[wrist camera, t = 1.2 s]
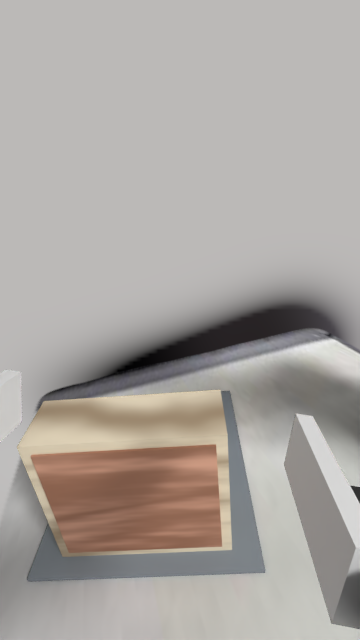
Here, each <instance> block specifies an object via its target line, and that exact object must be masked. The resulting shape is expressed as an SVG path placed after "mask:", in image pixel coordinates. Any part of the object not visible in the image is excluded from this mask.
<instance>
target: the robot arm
mask: <svg viewBox="0 0 360 640" xmlns="http://www.w3.org/2000/svg"><path fill="white" fill-rule="evenodd" d="M21 422H22V396H21V372H18V371H11V370H5V371H3V372H2V373H0V443H1V442H2V441H3V440H4V439H5V438H6V437H7V436H8V435H9V434H10V433H11V432H12V431H13V430H14V429H15V428H16V427H17V426H18V425H19V424H20V423H21ZM284 466H285V470H286V473H287V476H288V480H289V483H290V486H291V490H292V493H293V496H294V500H295V503H296V506H297V510H298V513H299V516H300V520H301V523H302V526H303V530H304V533H305V537H306V540H307V543H308V547H309V550H310V553H311V557H312V560H313V563H314V567H315V570H316V573H317V577H318V580H319V583H320V587H321V590H322V593H323V597H324V600H325V603H326V607H327V610H328V613H329V617H330V620H331V623H332V624H336V625H342V626H347V627H352V628H357V629H360V487H355V486H350V484H349V483H348V481H347V479H346V477H345V475H344V473H343V471H342V470H341V468H340V466H339V464H338V462H337V460H336V458H335V456H334V455H333V453H332V451H331V449H330V447H329V445H328V443H327V442H326V440H325V438H324V436H323V434H322V432H321V430H320V429H319V427H318V425H317V423H316V421H315V419H314V417H313V416H309V415H302V414H295V419H294V423H293V427H292V432H291V436H290V440H289V445H288V449H287V454H286V458H285V462H284Z"/></svg>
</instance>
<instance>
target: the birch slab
mask: <svg viewBox="0 0 360 640" xmlns="http://www.w3.org/2000/svg"><path fill="white" fill-rule="evenodd" d="M17 449H18V451H19V454H20V456H21V459H22V461H23V463H24V466H25V468H26V470H27V473H28V475H29V478H30V480H31V482H32V485H33V487H34V490H35V492H36V494H37V497H38V499H39V502H40V504H41V506H42V509H43V511H44V514H45V516H46V518H47V521H48V523H49V526H50V528H51V530H52V533H53V535H54V538H55V540H56V542H57V545H58V547H59V549H60V552H61V554H62V557H74V556H98V555H123V554H147V553H172V552H196V551H221V550H232V535H231V510H230V484H229V458H228V434H227V428H226V422H225V415H224V409H223V403H222V396H221V390H206V391H191V392H175V393H160V394H145V395H130V396H115V397H100V398H85V399H69V400H54V401H44V402H43V404H42V405H41V407H40V409H39V410H38V412H37V414H36V415H35V417H34V419H33V421H32V422H31V424H30V426H29V427H28V429H27V431H26V432H25V434H24V436H23V437H22V439H21V441H20V442H19V444H18V446H17Z"/></svg>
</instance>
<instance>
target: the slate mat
mask: <svg viewBox="0 0 360 640" xmlns="http://www.w3.org/2000/svg"><path fill="white" fill-rule="evenodd" d="M221 396H222V403H223V409H224V415H225V422H226V428H227V434H228V458H229V484H230V510H231V535H232V550H221V551H196V552H172V553H147V554H123V555H98V556H74V557H62V554H61V552H60V549H59V547H58V545H57V542H56V540H55V538H54V535H53V533H52V530H51V528H50V526H49V523H48V525H47V528H46V530H45V533H44V536H43V538H42V541H41V544H40V546H39V549H38V552H37V554H36V557H35V559H34V562H33V565H32V567H31V570H30V573H29V575H28V578H27V580H28V581H52V580H79V579H106V578H133V577H160V576H187V575H214V574H241V573H265V567H264V562H263V557H262V551H261V546H260V541H259V536H258V531H257V526H256V521H255V516H254V511H253V506H252V501H251V496H250V491H249V486H248V481H247V476H246V471H245V466H244V461H243V455H242V450H241V445H240V440H239V435H238V430H237V425H236V420H235V415H234V410H233V405H232V400H231V395H230V391H221Z"/></svg>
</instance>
